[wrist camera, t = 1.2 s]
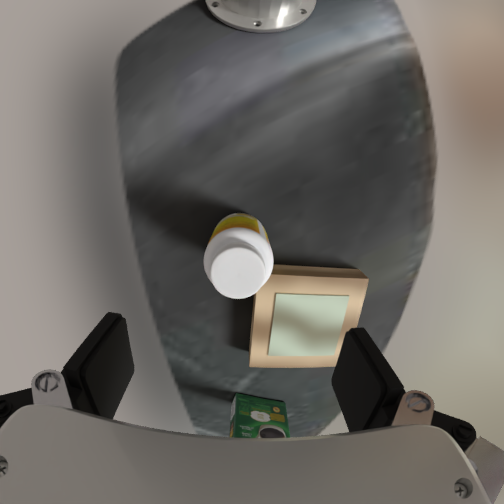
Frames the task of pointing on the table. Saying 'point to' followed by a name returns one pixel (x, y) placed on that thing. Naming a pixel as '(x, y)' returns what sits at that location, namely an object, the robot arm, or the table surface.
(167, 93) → the table surface
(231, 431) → the coffee box
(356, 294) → the base
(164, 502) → the robot arm
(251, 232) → the supplement bottle
